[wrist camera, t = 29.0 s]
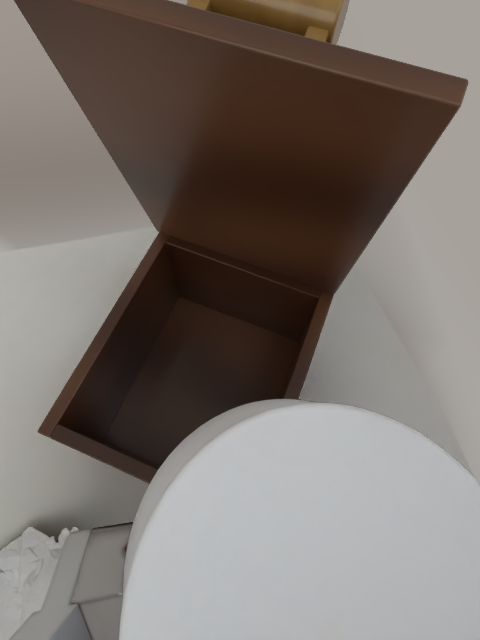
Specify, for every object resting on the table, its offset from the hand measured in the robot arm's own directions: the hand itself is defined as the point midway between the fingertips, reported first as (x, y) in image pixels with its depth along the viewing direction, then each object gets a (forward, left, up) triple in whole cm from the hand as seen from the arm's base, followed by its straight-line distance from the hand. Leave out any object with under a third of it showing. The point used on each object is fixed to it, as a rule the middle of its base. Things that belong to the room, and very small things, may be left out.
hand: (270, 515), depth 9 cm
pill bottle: (0, 0, -6) cm, 6 cm away
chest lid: (-9, -9, -3) cm, 13 cm away
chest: (-4, -7, -20) cm, 22 cm away
